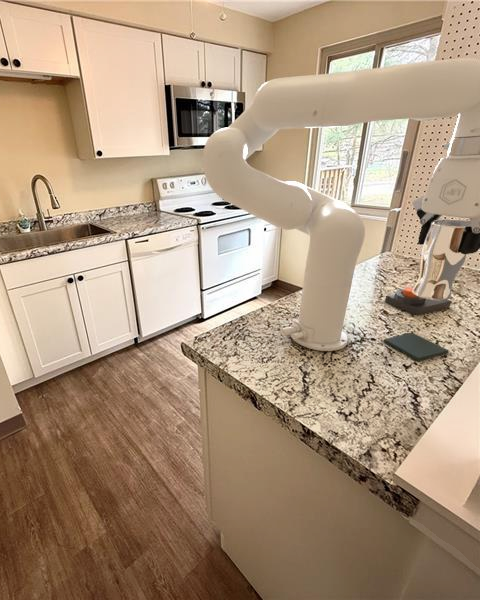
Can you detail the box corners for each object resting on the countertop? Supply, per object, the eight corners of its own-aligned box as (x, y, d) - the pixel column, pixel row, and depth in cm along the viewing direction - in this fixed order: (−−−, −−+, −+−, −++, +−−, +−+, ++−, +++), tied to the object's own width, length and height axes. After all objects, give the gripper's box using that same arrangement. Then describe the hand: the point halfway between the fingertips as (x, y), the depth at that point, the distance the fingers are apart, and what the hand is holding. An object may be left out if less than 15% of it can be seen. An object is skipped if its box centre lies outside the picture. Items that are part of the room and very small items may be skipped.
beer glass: (436, 286, 68) (459, 217, 61) (462, 300, 61) (491, 224, 55) (401, 288, 68) (420, 220, 62) (424, 302, 62) (448, 227, 56)
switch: (411, 299, 83) (413, 293, 82) (398, 294, 86) (400, 288, 85) (422, 296, 83) (424, 290, 82) (409, 291, 86) (411, 286, 86)
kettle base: (413, 316, 81) (417, 302, 80) (382, 302, 89) (385, 290, 88) (449, 308, 83) (454, 294, 82) (415, 295, 91) (419, 283, 90)
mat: (417, 361, 66) (418, 358, 65) (383, 342, 73) (384, 339, 73) (447, 353, 67) (449, 350, 67) (411, 335, 74) (412, 332, 74)
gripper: (410, 151, 60) (388, 241, 68) (530, 147, 45) (484, 263, 52) (441, 147, 61) (416, 236, 69) (568, 142, 46) (518, 256, 53)
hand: (445, 247), depth 60 cm, fingers closed on beer glass, 7 cm apart
